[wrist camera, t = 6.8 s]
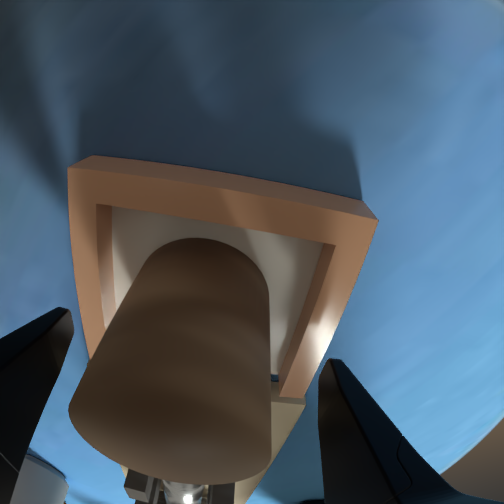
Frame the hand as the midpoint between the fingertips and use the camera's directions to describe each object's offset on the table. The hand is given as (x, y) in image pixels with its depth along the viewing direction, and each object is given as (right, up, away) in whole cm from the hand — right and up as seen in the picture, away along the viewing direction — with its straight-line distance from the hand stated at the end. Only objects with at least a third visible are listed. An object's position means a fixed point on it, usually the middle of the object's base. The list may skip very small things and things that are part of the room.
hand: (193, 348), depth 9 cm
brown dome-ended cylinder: (0, +1, +2) cm, 3 cm away
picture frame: (0, +1, +3) cm, 3 cm away
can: (-23, -23, +17) cm, 37 cm away
